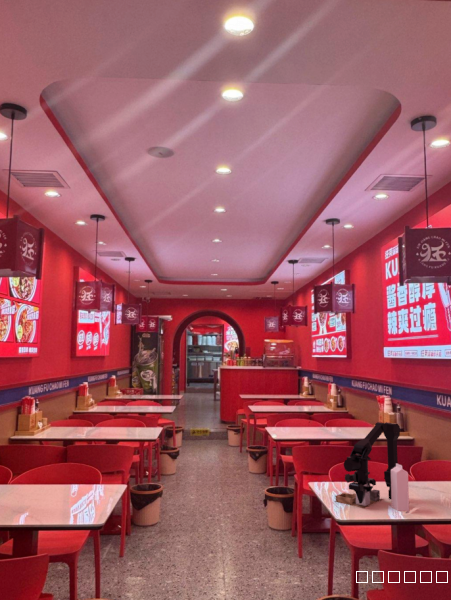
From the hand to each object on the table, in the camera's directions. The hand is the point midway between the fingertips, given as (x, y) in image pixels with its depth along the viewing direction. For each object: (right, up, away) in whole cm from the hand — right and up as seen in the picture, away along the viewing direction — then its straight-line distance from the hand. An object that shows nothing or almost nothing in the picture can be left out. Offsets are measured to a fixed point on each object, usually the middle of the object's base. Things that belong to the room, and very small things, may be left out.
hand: (362, 502), depth 235 cm
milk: (+17, -2, -6) cm, 18 cm away
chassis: (0, -4, +7) cm, 8 cm away
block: (0, -1, 0) cm, 1 cm away
